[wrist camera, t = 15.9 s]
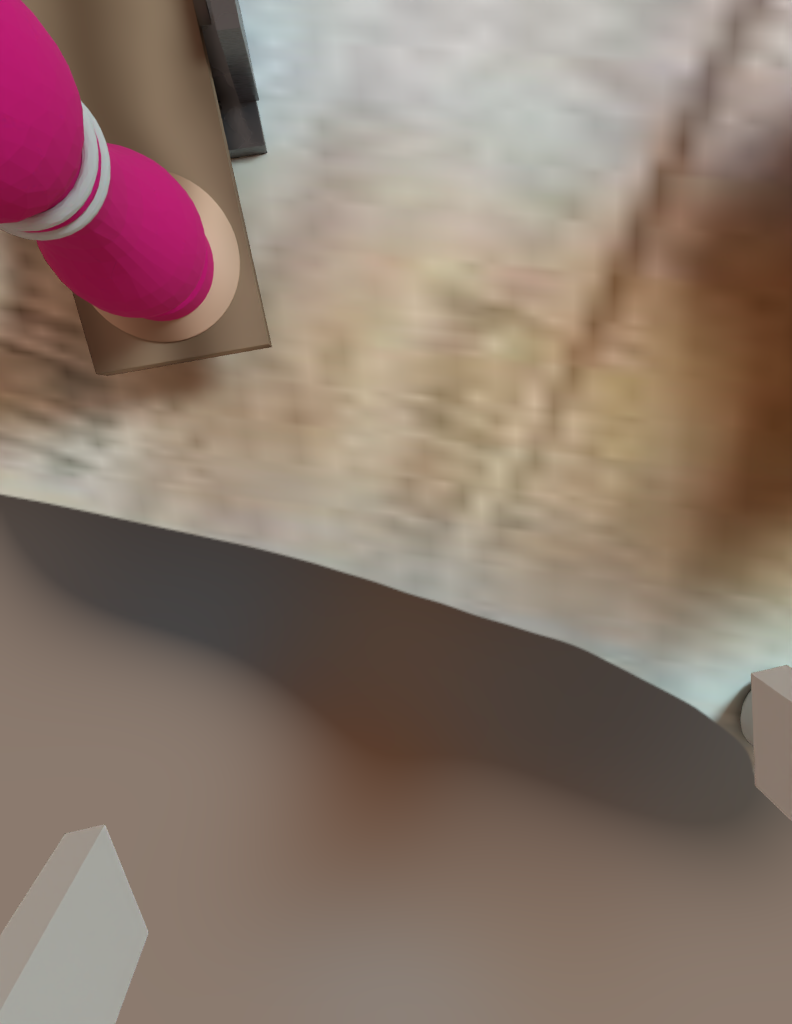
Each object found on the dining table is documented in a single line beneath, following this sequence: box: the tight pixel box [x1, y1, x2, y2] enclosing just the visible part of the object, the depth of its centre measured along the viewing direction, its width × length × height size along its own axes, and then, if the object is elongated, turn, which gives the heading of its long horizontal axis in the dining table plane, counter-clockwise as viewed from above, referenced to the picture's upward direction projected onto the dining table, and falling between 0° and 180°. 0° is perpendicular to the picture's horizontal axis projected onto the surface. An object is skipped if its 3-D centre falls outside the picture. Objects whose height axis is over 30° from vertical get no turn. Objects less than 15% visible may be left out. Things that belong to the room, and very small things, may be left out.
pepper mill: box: [0, 0, 214, 321], centre depth 20 cm, size 7×7×20 cm
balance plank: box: [21, 0, 272, 376], centre depth 26 cm, size 11×35×4 cm, turn 10°
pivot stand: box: [201, 0, 267, 158], centre depth 29 cm, size 14×10×7 cm
